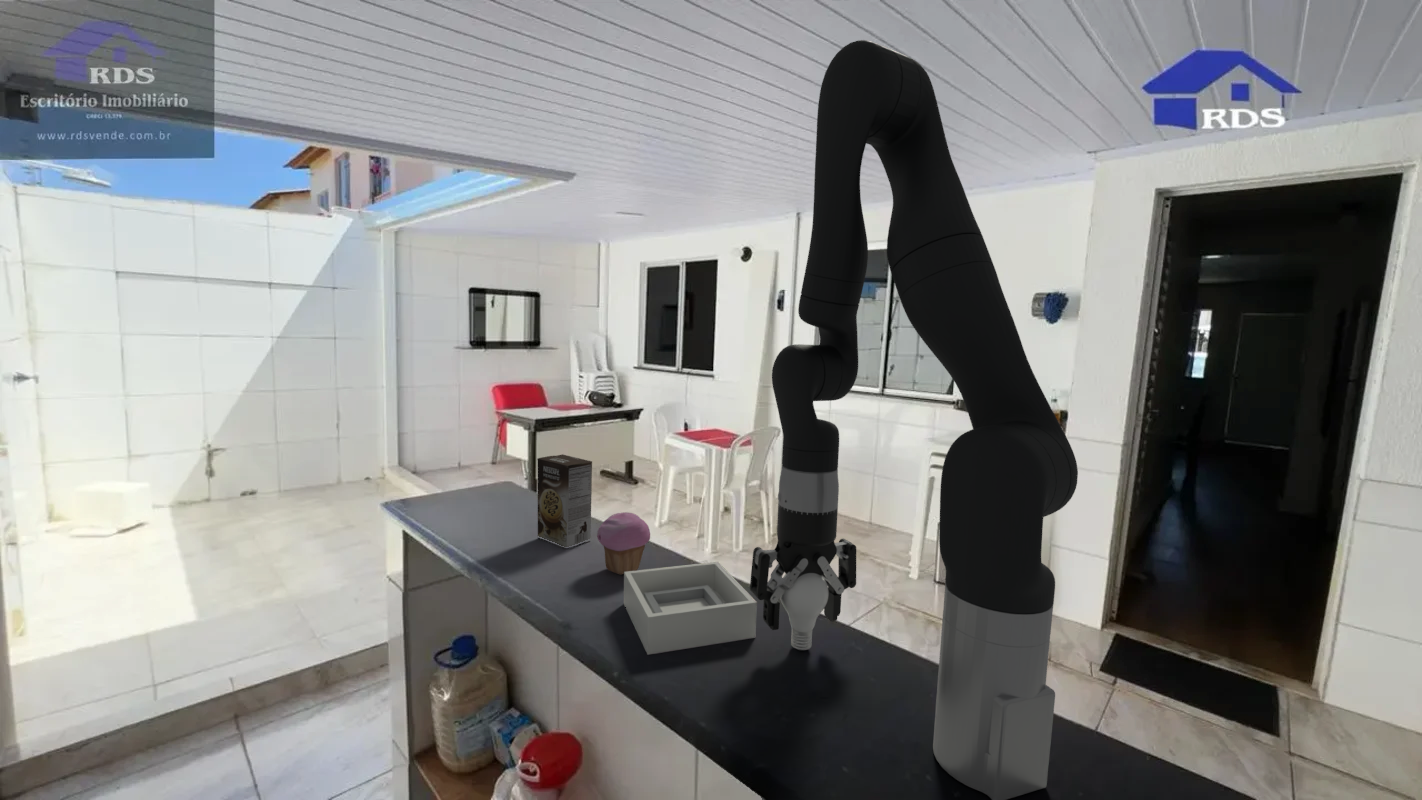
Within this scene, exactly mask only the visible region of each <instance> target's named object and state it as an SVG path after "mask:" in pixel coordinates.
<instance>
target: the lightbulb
mask: <svg viewBox="0 0 1422 800" xmlns="http://www.w3.org/2000/svg"><path fill="white" fill-rule="evenodd" d="M785 576H786V573H784V574H783V576H782V578H784V577H785ZM828 597H829V591H828V586H827V583H826V581H825V579H824V578H823V576H820V575H818V574H815V573H807V574H804V575H802V576H800V577H798V578H797V579H796V580H795V582H794V583H793V585H792V586H791V587H790V589H789V590H786V591H785V592H784V593H783V595H782V596H781V598H780V599H779V601H780V603H781V604H782V606H783V608H784V610H785V612H786V613H787V615H788V619H789V620H788V621H789V624H790V626H791V631H790V632H791V634H790V635H791V637H790V639H791V640H790V645H791V647H793V648H794V649H796V650H798V651H800V652H803V651H807V650H810V649H811V648H812V643H813V642H812V640H813V638H812V637H813V629H814V628H815V626H816V621H817V619H818V616H820V615H821V613H822V612H824V608H825V606H826V604H827V601H828Z"/></svg>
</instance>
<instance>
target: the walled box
mask: <svg viewBox="0 0 1422 800" xmlns="http://www.w3.org/2000/svg"><path fill="white" fill-rule="evenodd" d="M623 606H624V608H625V607H626V608H625V609H626V612H627V614H628V616H629V618H630V621H631V623H632V624H633V626H634V629H635V631H636V634H637V635H638V638H639V639H640V641H641V645H642V646H643V648H644V650H645V652H646V655H648V656H649V655H656V654H661V653H668V652H673V651H680V650H685V649H693V648H698V647H705V646H712V645H717V644H724V643H731V642H736V641H742V640H748V639H749V640H750V639H754V638H756V634H757V633H756V631H757V611H758V610H757V609H758V601H756V600H755V599H754V598H753V596H752V595H751V594H750V593H749V592H748V591H747V590H746V589H745V588H744V587H743V586H742V584H740V583H739V582H738V581H737V580H736V579H735V578H734V577H733V576H732V574H731V573H729V572H728V570H726V568H724V567H723V565H722V564H721V563H720V562H719V561H711V562H703V563H701V562H699V563H693V564H686V565H685V564H684V565H675V566H665V567H654V568H645V569H637V570H636V571H627V572H624V574H623Z"/></svg>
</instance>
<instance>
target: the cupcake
mask: <svg viewBox="0 0 1422 800" xmlns="http://www.w3.org/2000/svg"><path fill="white" fill-rule="evenodd" d="M596 537H597V541H599V543H600V544H601V545H602V547H603V550H604V562H605V567H606V569H607V571H610V572H612V573H614V574H617V575H624V572H627V571H636V570H639V568H640V565H641V562H642V556H643V553H644V550H645V548H646V547H645V546H646V544H647V543H649V542H650V540H651V532H650V527H649V525H648V524H647V522H646V521H645V520H643V519H642V518H640V516H639V515H637V514H635V513H632V512H628V511H626V512H617V513H614V514H611V515H610V516H609V517H607V518H606V519H605V520H604V521H603V522H602V523H601V525H600V526H599V527H598V529H597V534H596Z"/></svg>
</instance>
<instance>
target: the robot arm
mask: <svg viewBox="0 0 1422 800" xmlns="http://www.w3.org/2000/svg"><path fill="white" fill-rule="evenodd" d="M818 97H819V98H818V106H817V117H816V118H817V119H816V140H815V141H816V143H815V162H814V186H813V187H814V188H813V209H812V210H813V212H812V227H811V235H810V243H809V247H808V248H809V249H808V255H807V261H806V266H805V270H804V271H805V272H804V275H803V281H802V286H801V291H800V296H799V302H798V311H797V312H798V317H799V318H800V320H802V321H803V323H805V324H807V325H810V326H812V327H816V328H818V331H819V332H818V333H819V335H818V336H819V344H789V345H787V346H785V347H784V348H782V349H781V350H780V351H779V353H778V354H777V356H776V357H775V360H774V362H773V365H772V370H771V383H772V389H773V394H774V397H775V402H776V407H777V411H778V416H779V421H780V426H781V430H782V437H783V438H782V451H781V452H782V454H781V457H782V458H781V472H780V476H779V482H778V484H779V485H778V494H777V499H778V502H777V504H778V505H777V525H776V535H777V541H776V542H777V543H776V546H775V548H774V549H763V548H761V547H759V546H756V547H755V548H754V549H753V550H752V551H753V552H752V561H751V571H750V572H751V573H750V582H749V583H750V584H749V591H750V592H751V593H752V594H753V595H754V596H755V597H756V599H758V600H759V601H763V612H762V618H763V621H764V622H765V624H766V625H767V626H768V627H769V628H770V629H771V631H777V630H779V628H780V610H781V609H780V607H781V606H780V605H781V604H780V603H781V602H779V601H780V598H781V596H782V595H783V593H784V592H785V591H786V590H789V589H790V587H791V586H792V585H793V583H794V582H795V580H796V579H797V578H798V577H800V576H802V575H804V574H807V573H815V574H818V575H820V576H823V578H824V579H825V581H826V583H827V586H828V591H829V597H828V601H827V604H826V606H825V608H824V609H823V614H824V617H825V618H826V619H828V620H829V621H830V622H836V621H838V617H839V616H840V615H841V612H842V611H841V607H842V594H843V593H844V592H845V590H847V589H853V588H855V587H856V585H857V546H856V545H855V544H854V543H852V542H851V541H849V540H848V539H846V538H840V539H839V541H838V542H835V541H836V539H837V527H838V513H839V512H838V510H839V509H838V507H839V495H840V493H839V492H840V491H839V490H840V486H839V485H840V484H839V470H838V468H839V451H840V432H839V428H838V427H837V425H836V424H835V423H833V422H831V421H827V420H825V419H819V418H818V416H817V413H816V410H815V407H814V402H824V401H825V402H826V401H837V400H840V399H843V398H844V397H846V396H847V395H848V394H849V393H850V391H851V390H852V389H853V387H854V385H855V382H856V380H857V376H858V373H859V347H858V345H859V342H858V324H857V323H858V322H857V321H858V320H857V316H858V310H859V306H860V305H859V304H860V301H861V298H862V293H863V288H864V284H865V280H866V275H867V269H868V261H869V260H868V259H869V249H868V248H869V246H868V235H867V230H866V224H865V218H864V213H863V207H862V200H861V171H862V170H861V169H862V164H863V163H862V162H863V158H864V153H865V149H866V145H870V146H871V147H872V148H873V149H874V150H875V151H876V153H877V155H878V157H879V159H880V161H881V163H882V165H883V166H882V167H883V168H884V172H885V174H886V177H887V179H888V182H889V185H890V189H891V194H892V207H891V208H892V210H891V215H890V219H889V226H888V233H887V242H886V258H887V263H888V267H889V269H890V274H891V277H892V280H893V282H894V286H895V288H896V290H897V294H898V298H899V300H900V303H901V306H902V308H903V310H904V313H905V316H907V319H908V320H909V323H910V324H911V326H912V327H913V328H914V330H915V331H916V333H917V334H918V336H919V337H920V338H921V340H922V341H923V342H924V344H925V345H926V346H927V348H928V349H929V350H930V351H931V353H932V354H933V355H934V356H935V357H936V359H937V360H938V361H939V362H940V363H941V365H942V366H943V367H944V368H945V370H946V371H947V373H948V374H949V375H950V377H951V379H952V380H953V382H954V383H955V385H956V387H957V389H958V390H959V392H960V393H959V394H960V395H961V397H962V400H963V402H964V404H965V408H966V411H967V414H968V417H969V420H970V423H971V427H972V429H970V430H968V431H965V432H963V433H962V434H961V435H959V436H958V437H957V438H956V439H955V440H954V441H953V442H952V444H951V445H950V447H949V448H948V451H947V453H946V455H945V457H944V461H943V465H942V472H941V479H940V489H939V490H940V491H939V492H940V493H939V494H940V495H939V529H938V530H939V531H938V532H939V534H938V536H939V537H938V542H939V544H938V545H939V552H940V557H941V560H942V562H943V565H944V569H945V581H944V582H945V583H944V584H945V585H944V596H943V597H944V598H943V610H942V620H941V635H940V647H939V648H940V650H939V661H938V674H937V687H936V699H935V700H936V701H935V715H934V728H933V741H932V750H933V751H932V752H933V754H934V757H935V759H936V761H937V762H938V763H939V766H940V767H941V768H942V769H943V770H944V771H945V772H946V773H947V774H949V776H951V777H953V778H954V779H955V780H957V781H958V782H959V783H962V784H963V785H965V786H967V787H969V788H971V789H973V790H976V791H979V792H980V793H983V794H985V795H987V797H989V798H990V799H991V800H1009V799H1013V798H1016V797H1020V796H1022V795H1025V794H1029V793H1032V792H1035V791H1038V790H1042V789H1045V788H1046V787H1047V786H1048V785H1047V783H1048V775H1049V772H1048V771H1049V763H1050V753H1051V742H1052V734H1053V733H1052V732H1053V724H1054V723H1053V722H1054V711H1055V702H1056V692H1055V690H1054V689H1053V688H1051V687H1050V686H1048V685H1047V684H1046V683H1047V673H1048V663H1049V662H1048V661H1049V651H1050V644H1051V643H1050V642H1051V633H1052V622H1053V612H1054V602H1055V592H1056V579H1055V575H1054V573H1053V572H1052V570H1051V569H1050V568H1049V567H1048V566H1047V565H1046V564H1044V563H1043V562H1042V548H1043V547H1042V544H1043V528H1044V527H1043V526H1044V518H1045V517H1048V516H1050V515H1052V514H1054V513H1056V512H1058V511H1060V510H1062V509H1063V508H1064V507H1065V506H1066V505H1068V503H1069V502H1070V501H1071V499H1072V497H1073V496H1074V495H1075V492H1076V489H1077V486H1078V485H1077V484H1078V475H1079V472H1078V471H1079V470H1078V469H1079V468H1078V464H1077V459H1076V456H1075V453H1074V450H1073V448H1072V446H1071V444H1070V442H1069V440H1068V438H1067V435H1066V433H1065V432H1064V430H1063V428H1062V426H1061V423H1060V422H1059V420H1058V418H1057V417H1056V414H1055V413H1054V411H1053V409H1052V407H1051V406H1050V403H1049V401H1048V400H1047V398H1046V395H1045V393H1044V391H1043V390H1042V388H1041V386H1040V384H1039V382H1038V380H1037V378H1036V376H1035V374H1034V371H1033V370H1032V367H1031V364H1030V362H1029V360H1028V358H1027V355H1026V351H1025V350H1024V346H1023V342H1022V341H1021V337H1020V334H1019V332H1018V329H1017V326H1016V323H1015V321H1014V318H1013V315H1012V312H1011V310H1010V307H1009V305H1008V302H1007V300H1006V296H1005V294H1004V291H1003V289H1002V286H1001V283H1000V280H999V277H998V274H997V271H996V270H997V269H996V268H995V265H994V263H993V260H992V258H991V257H992V256H991V255H990V252H989V249H988V247H987V244H986V241H985V239H984V236H983V234H982V233H983V232H982V231H981V229H980V227H979V225H978V222H977V221H976V217H975V215H974V213H973V211H972V208H971V206H970V202H969V200H968V197H967V195H966V191H965V188H964V187H963V184H962V181H961V179H960V176H959V174H958V172H957V169H956V167H955V165H954V164H955V163H954V162H953V158H952V156H951V155H952V154H951V153H950V149H949V146H948V143H947V141H948V140H947V138H946V133H945V130H944V126H943V125H944V124H943V122H942V118H941V114H940V110H939V106H938V105H939V104H938V101H937V98H936V97H937V96H936V94H935V90H934V87H933V83H932V81H931V78H930V75H929V74H928V71H926V70H925V68H924V67H923V66H922V65H921V64H920V62H918V61H916V59H914V58H911V57H910V56H908V55H905V54H903V53H900V52H898V51H895V50H893V49H891V48H889V47H887V46H884V45H881V44H879V43H876V42H874V41H870V40H865V39H861V40H860V39H858V40H855V41H852V42H849V43H848V44H846V45H844V46H842V48H841V49H840V50H839V51H838V52H837V53H836V54H835V55H834V57H833V58H832V59H831V61H830V63H829V64H828V66H827V68H826V70H825V72H824V76H823V79H822V82H821V87H820V91H819V96H818ZM835 557H838V575H837V573H836V572H835V570H834V569H833V568H832V567H831V565H830V564H831V563H832V561H833V560H834V558H835ZM774 561H776V562H777V565H776V566H775V567H774V569H773V570H772V571H771V573H770V578H769V572H770V569H772V568H773V563H774ZM785 574H786V576H785V577H784V575H785ZM783 577H784V578H783Z"/></svg>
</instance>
